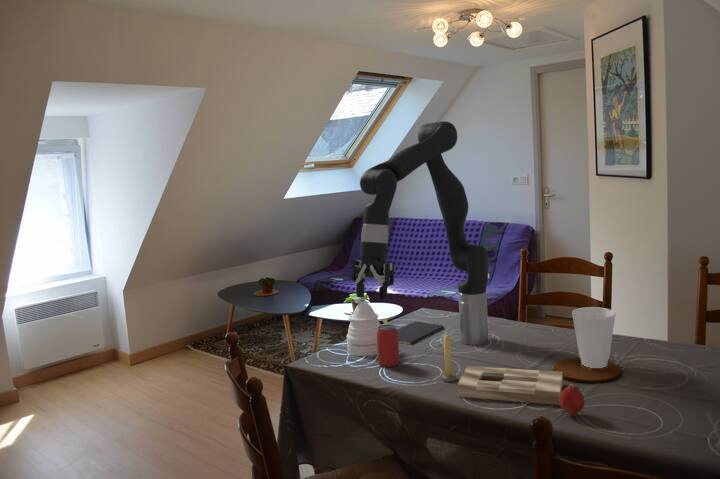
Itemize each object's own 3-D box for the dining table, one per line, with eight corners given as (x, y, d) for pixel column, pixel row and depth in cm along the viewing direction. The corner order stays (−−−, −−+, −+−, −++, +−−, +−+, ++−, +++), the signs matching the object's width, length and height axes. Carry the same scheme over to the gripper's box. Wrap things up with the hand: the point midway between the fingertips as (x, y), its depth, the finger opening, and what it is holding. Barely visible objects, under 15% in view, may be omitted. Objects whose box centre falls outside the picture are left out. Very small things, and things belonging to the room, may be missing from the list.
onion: (555, 411, 151) (554, 380, 150) (578, 409, 151) (577, 378, 150) (565, 421, 145) (564, 389, 144) (588, 419, 146) (588, 387, 145)
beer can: (398, 367, 188) (395, 330, 187) (377, 367, 190) (374, 330, 188) (400, 360, 195) (398, 323, 193) (380, 360, 196) (378, 324, 194)
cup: (622, 363, 179) (622, 310, 177) (606, 376, 171) (606, 320, 168) (582, 356, 187) (581, 305, 185) (565, 367, 179) (564, 314, 176)
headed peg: (443, 376, 179) (441, 333, 177) (457, 377, 177) (455, 333, 176) (440, 381, 175) (437, 337, 173) (454, 382, 174) (452, 338, 172)
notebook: (410, 346, 209) (444, 329, 225) (410, 342, 209) (443, 325, 225) (381, 341, 217) (415, 325, 233) (381, 336, 217) (415, 321, 233)
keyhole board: (467, 377, 177) (467, 366, 176) (562, 383, 167) (562, 371, 167) (457, 396, 164) (457, 384, 163) (560, 404, 155) (559, 392, 154)
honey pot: (341, 355, 204) (337, 302, 201) (355, 342, 216) (351, 292, 213) (378, 357, 199) (374, 303, 197) (390, 344, 211) (386, 293, 209)
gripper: (402, 242, 169) (398, 301, 169) (365, 240, 179) (362, 295, 179) (384, 241, 164) (380, 302, 164) (347, 239, 174) (343, 296, 174)
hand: (370, 298), depth 171 cm, fingers open, 8 cm apart
